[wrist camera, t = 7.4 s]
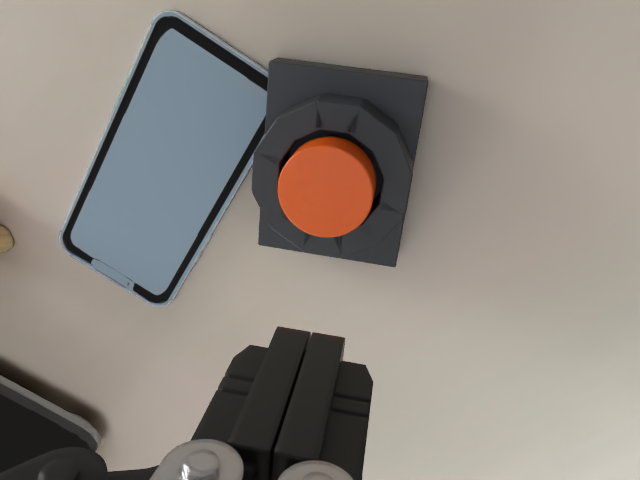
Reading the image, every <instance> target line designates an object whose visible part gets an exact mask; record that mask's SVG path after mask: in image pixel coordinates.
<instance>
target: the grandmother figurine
mask: <svg viewBox="0 0 640 480" xmlns="http://www.w3.org/2000/svg"><path fill="white" fill-rule="evenodd" d="M13 244H14V242H13V238H12V236H11V234H10V232H9V230H7V229H6V228H5V227H3V226H1V225H0V253H2V252H4V251H7V250H10V249H11V248H12V247H13Z"/></svg>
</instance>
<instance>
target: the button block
mask: <svg viewBox="0 0 640 480" xmlns="http://www.w3.org/2000/svg"><path fill="white" fill-rule="evenodd" d="M427 87H428V77H427V76H419V75H411V74H403V73H395V72H387V71H379V70H371V69H363V68H355V67H347V66H340V65H332V64H324V63H316V62H308V61H300V60H292V59H284V58H276V59H274V60H271V61H269V71H268V88H267V104H266V121H265V136H264V137H263V139H262V140H261V141H260V143H259V144H258V146H257V147H256V149H255V152H254V157H253V176H252V192H253V195H254V197H255V199H256V201H257V203H258V205H259V207H260V223H259V240H258V244H259V245H262V246H268V247H275V248H281V249H287V250H293V251H299V252H305V253H311V254H317V255H323V256H329V257H336V258H342V259H348V260H354V261H360V262H366V263H372V264H378V265H384V266H390V267H395V266H396V262H397V257H398V251H399V245H400V240H401V234H402V228H403V223H404V217H405V213H406V209H407V203H408V198H409V192H410V187H411V181H412V173H413V166H414V161H415V155H416V149H417V144H418V138H419V132H420V127H421V121H422V116H423V110H424V104H425V99H426V93H427ZM323 136H335V137H340V138H344V139H346V140H349V141H351V142H353V143H354V144H356V145H357V146H359V147H360V148H361V149H362V150H363V151H364V152H365V153H366V154H367V156H368V157H369V159H370V160H371V162H372V164H373V167H374V170H375V174H376V189H375V194H374V198H373V203H372V207H371V209H370V212H369V214H368V216H367V217H366V219H365V220H364V221H363V222H362V223H361V225H360V226H358V227H357V228H356V229H355V230H353V231H351V232H349V233H347V234H345V235H342V236H338V237H318V236H314V235H311V234H308V233H306V232H304V231H302V230H301V229H299V228H298V227H296V226H295V225H294V224H293V223H292V222H291V221H290V220H289V219H288V217H287V216H286V215H285V213H284V211H283V209H282V207H281V205H280V202H279V198H278V180H279V176H280V173H281V171H282V169H283V167H284V166H285V164H286V163H287V161H288V160H289V159H290V158H291V156H292V155H293V154H294V153H295V152H296V150H297V149H298V148H299V147H300V146H302V145H303V144H304V143H306V142H308V141H310V140H312V139H315V138H318V137H323Z"/></svg>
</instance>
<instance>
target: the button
mask: <svg viewBox="0 0 640 480" xmlns="http://www.w3.org/2000/svg"><path fill="white" fill-rule="evenodd" d="M375 189H376V174H375V170H374V167H373V164H372V162H371V160H370V159H369V157H368V156H367V154H366V153H365V152H364V151H363V150H362V149H361V148H360V147H359V146H357V145H356V144H354V143H353V142H351V141H349V140H346V139H344V138H340V137H335V136H323V137H318V138H315V139H312V140H310V141H308V142H306V143H304V144H303V145H302V146H300V147H299V148H298V149H297V150H296V152H295V153H294V154H293V155H292V156H291V158H290V159H289V160H288V161H287V163H286V164H285V166H284V167H283V169H282V171H281V173H280V176H279V180H278V198H279V202H280V205H281V207H282V209H283V211H284V213H285V215H286V216H287V217H288V219H289V220H290V221H291V222H292V223H293V224H294V225H295V226H296V227H298V228H299V229H301V230H302V231H304V232H306V233H308V234H311V235H314V236H318V237H338V236H342V235H345V234H347V233H349V232H351V231H353V230H355V229H356V228H357V227H358V226H360V225H361V223H362V222H363V221H364V220H365V219H366V217H367V216H368V214H369V212H370V209H371V207H372V203H373V198H374V194H375Z"/></svg>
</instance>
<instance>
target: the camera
mask: <svg viewBox="0 0 640 480" xmlns="http://www.w3.org/2000/svg"><path fill="white" fill-rule="evenodd" d="M100 443H101V436H100V435H99V433H98V432H97V430H96V429H95V428H93V427H92V426H91V424H90V422H88V421H87V420H85V419H84V418H82V417H81V416H79V415H76V414H73V413H71V412H70V413H69V412H67V411H65V410H63V409H62V408H60V407H58V406H56V405H54V404H52V403H51V402H49V401H47V400H45V399H43V398H41V397H40V396H38V395H36V394H34V393H32V392H30V391H28V390H27V389H25V388H23V387H21V386H19V385H17V384H16V383H14V382H12V381H10V380H8V379H6V378H5V377H3V376H1V375H0V473H1V472H4V471H6V470H8V469H10V468H13V467H15V466H17V465H19V464H22V463H24V462H26V461H28V460H31V459H33V458H35V457H38V456H40V455H42V454H44V453H47V452H50V451H52V450H56V449H60V448H66V447H81V448H86V449H90V450H92V451H94V452H95V451H96V450H97V448H98V446H99V445H100Z"/></svg>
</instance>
